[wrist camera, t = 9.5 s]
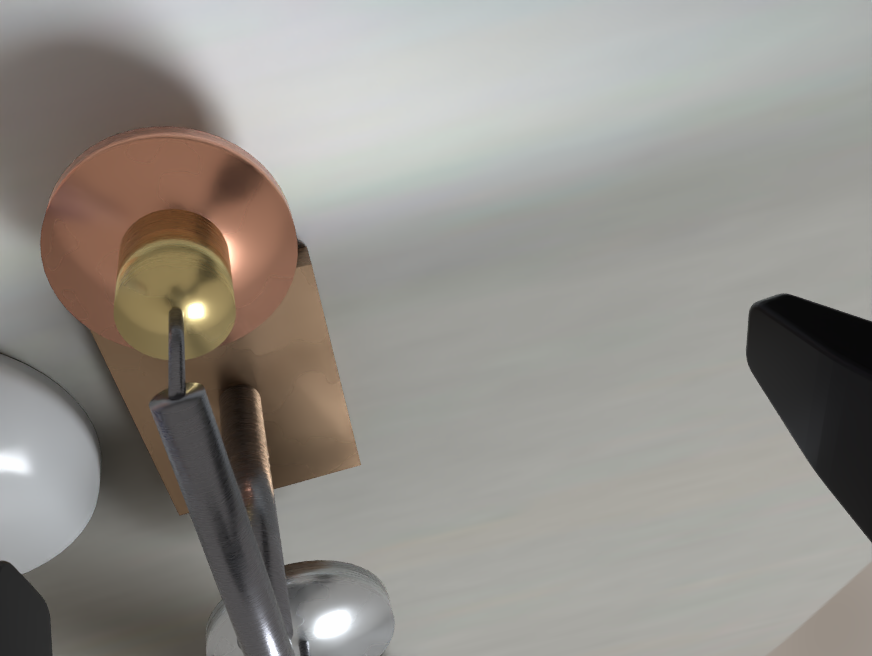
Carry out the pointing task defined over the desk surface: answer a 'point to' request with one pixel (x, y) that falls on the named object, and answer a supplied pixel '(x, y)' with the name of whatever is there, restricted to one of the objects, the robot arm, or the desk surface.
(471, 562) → the desk surface
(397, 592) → the desk surface
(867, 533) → the robot arm
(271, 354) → the balance
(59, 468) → the white disc
